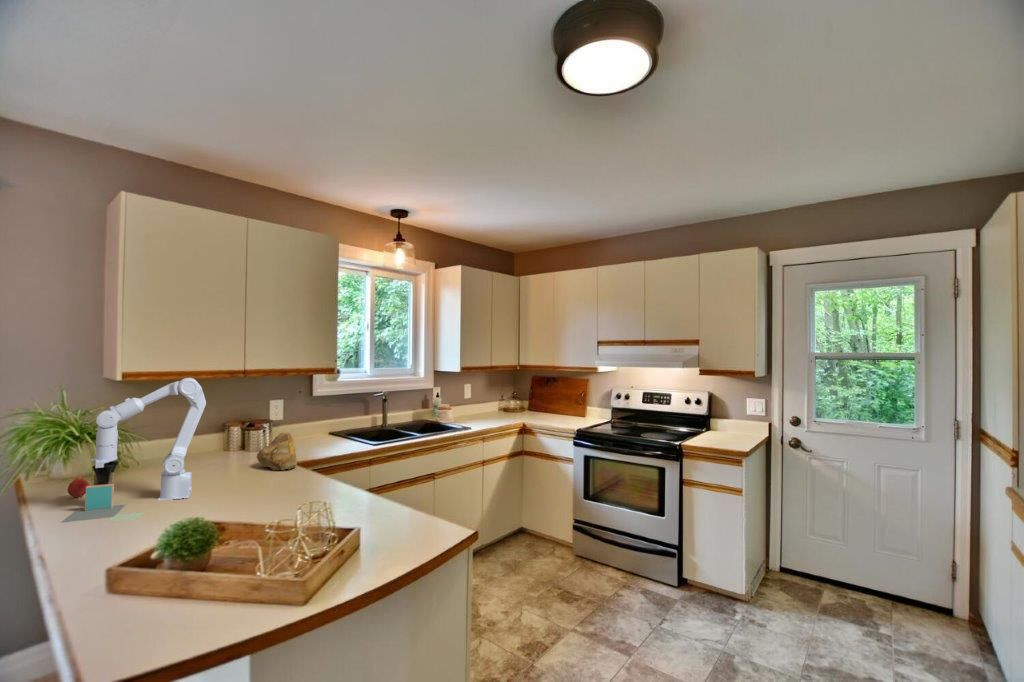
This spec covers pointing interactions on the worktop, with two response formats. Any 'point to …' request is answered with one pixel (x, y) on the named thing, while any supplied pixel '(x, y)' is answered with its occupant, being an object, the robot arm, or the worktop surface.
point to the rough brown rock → (279, 453)
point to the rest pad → (126, 516)
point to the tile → (99, 497)
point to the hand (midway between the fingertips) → (104, 484)
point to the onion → (78, 487)
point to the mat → (93, 514)
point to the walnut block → (111, 479)
